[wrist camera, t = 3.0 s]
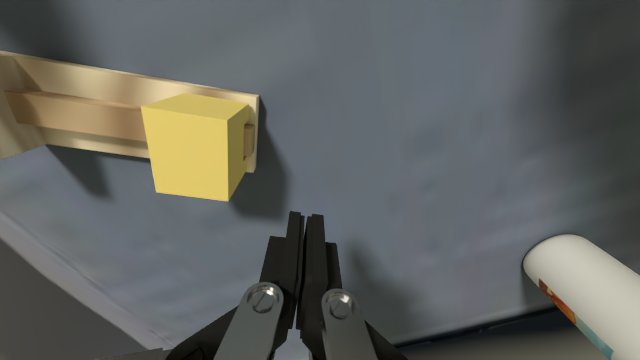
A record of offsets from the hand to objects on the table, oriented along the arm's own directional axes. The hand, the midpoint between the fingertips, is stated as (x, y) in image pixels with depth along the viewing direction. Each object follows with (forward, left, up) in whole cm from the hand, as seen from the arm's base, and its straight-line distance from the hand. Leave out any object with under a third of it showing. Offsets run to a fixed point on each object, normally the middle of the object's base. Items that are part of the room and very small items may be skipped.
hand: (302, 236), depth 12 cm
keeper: (+8, -1, -11) cm, 14 cm away
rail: (+15, -1, -13) cm, 19 cm away
